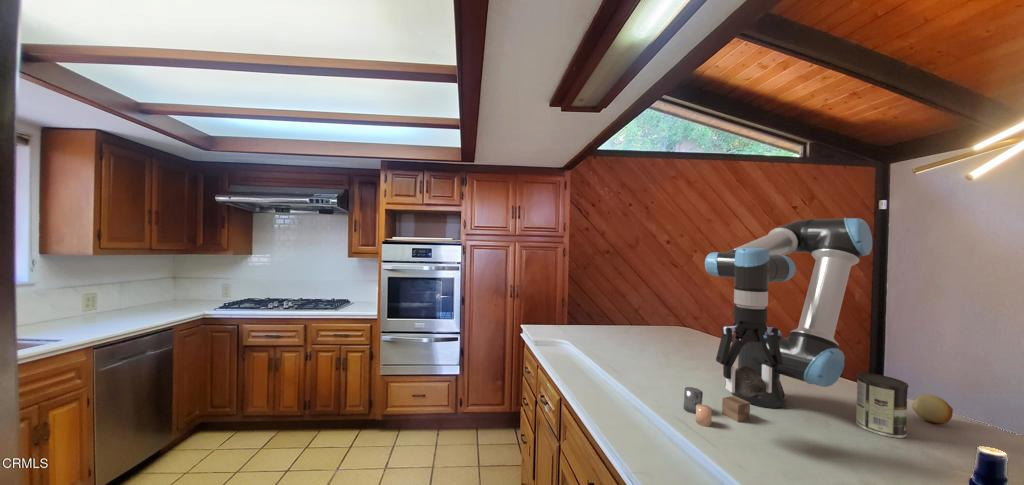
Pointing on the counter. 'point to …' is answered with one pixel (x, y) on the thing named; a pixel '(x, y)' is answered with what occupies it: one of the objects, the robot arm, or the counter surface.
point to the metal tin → (692, 399)
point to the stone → (748, 382)
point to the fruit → (932, 409)
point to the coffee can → (882, 405)
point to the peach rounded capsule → (703, 415)
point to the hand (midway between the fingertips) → (748, 390)
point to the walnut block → (736, 408)
